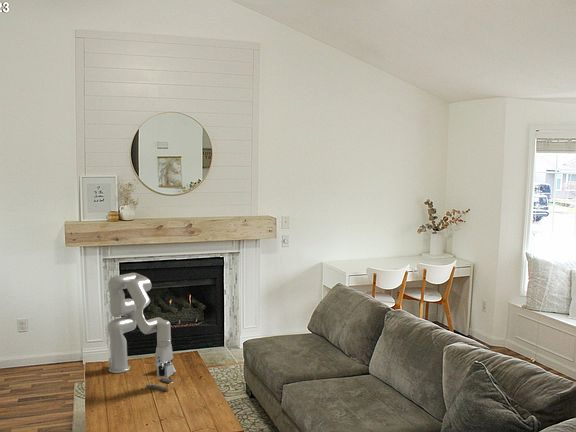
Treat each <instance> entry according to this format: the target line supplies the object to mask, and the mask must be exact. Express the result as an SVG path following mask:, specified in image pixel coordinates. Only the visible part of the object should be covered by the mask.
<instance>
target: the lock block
mask: <svg viewBox="0 0 576 432" xmlns="http://www.w3.org/2000/svg"><path fill="white" fill-rule="evenodd" d="M160 366H162V365H160ZM173 366H174V363H172V364H171V363H165V364H164V367H163V369H164V376H161V377H163V378H169V377H170V376H172V375H174V374H173ZM156 376H158V377H160V376H159V369H158V368H157V367H156Z"/></svg>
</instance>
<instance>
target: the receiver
mask: <svg viewBox="0 0 576 432" xmlns="http://www.w3.org/2000/svg"><path fill="white" fill-rule="evenodd" d="M159 377H160V378H159V379H160V381H162V382H163V383H167V384H166V385H165V386H162V385H156V384H146V389H154V390H159V391H163V392H167V393H169V392H170V391H172V390H174V389H175V388H177V387H178V386H181V385H182V383H181V382H182V378H180V377H178V378H176V379H169V378H166V377H162V376H159Z"/></svg>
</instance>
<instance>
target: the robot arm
mask: <svg viewBox="0 0 576 432" xmlns="http://www.w3.org/2000/svg"><path fill="white" fill-rule="evenodd" d="M152 285H153V284H152V282H151V280H150V279H149V278H148V277H147V276H144V275H142V274H139V273H137V272H130V273H124V274H120V275H118V274H117V275H114V276H113V277H110V278H109V280H108V283H107V286H108V292H109V309H110V311H109V312H110V315H111V316H112V317H114V318H115V319H112V320H110V321H109V322H108V324H107V331H108V335H109V341H110V342H109V343H110V345H109V346H110V360H108V361H107V363H106V364H107V366H109V368H108V372H110V373H111V374H112V373H113V374H121V373H125V372H128V371H129V370H130V369H131V366H130V365H129V364H128V344H127V343H128V342H127V339H126V337H125V335H124V334H125V333H128V332H131V331H134V330H135V329H136V328H137V326H138V328H139V330H140V332H142V334H144V335H150V334H153V333H156V343H157V344H156V347H155V367H156V369H157V368H158V369H159V376H158V377H162V376H164V369H163V367H164V364H165V363H171V364H173V359H174V355H173V346H172V336H171V335H172V333H171V322H170V321H169V320H168V319H167V320H166V319H163V318H162V317H159V316H158V317H154V318H150V319H148V320H147V319H146V318H145V315H144V309H145V308H146V307H147V306H149V304H150V303H151V298H150V296H149V295H148V293H147V292H149V291H150V290H151V289H152ZM125 289H126V290H127V292H128V293H129V295H130V297H131V298H126V297H125V296H126V294H125V292H124V290H125ZM160 365H162V366H160Z"/></svg>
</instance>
